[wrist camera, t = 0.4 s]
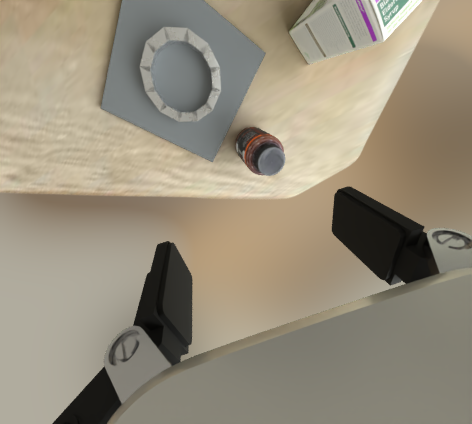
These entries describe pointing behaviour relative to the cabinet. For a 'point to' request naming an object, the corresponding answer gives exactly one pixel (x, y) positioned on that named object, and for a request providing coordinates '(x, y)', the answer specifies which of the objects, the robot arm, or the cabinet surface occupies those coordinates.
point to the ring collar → (148, 62)
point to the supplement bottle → (260, 151)
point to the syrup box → (347, 25)
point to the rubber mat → (179, 72)
